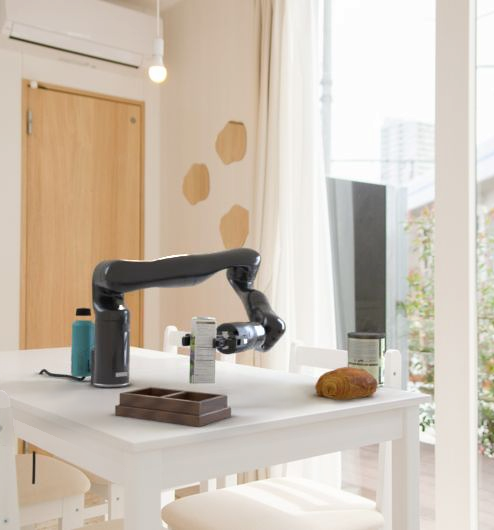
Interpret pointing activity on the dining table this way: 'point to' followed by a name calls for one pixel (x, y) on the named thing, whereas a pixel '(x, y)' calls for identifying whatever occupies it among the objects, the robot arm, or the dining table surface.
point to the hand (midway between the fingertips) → (198, 342)
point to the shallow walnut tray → (173, 406)
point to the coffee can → (367, 353)
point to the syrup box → (202, 350)
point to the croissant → (346, 384)
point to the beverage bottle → (82, 344)
